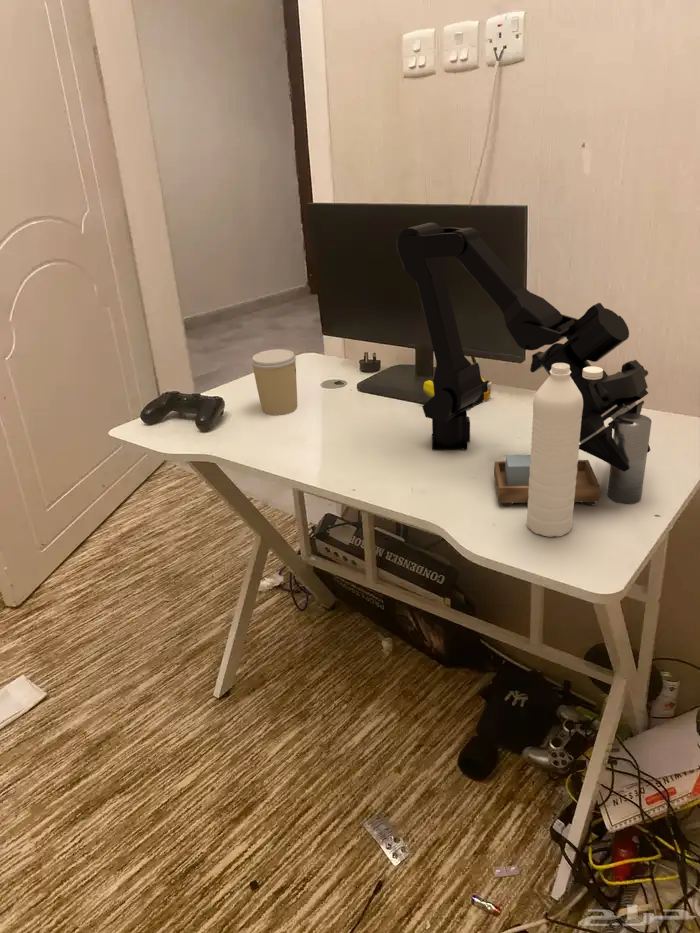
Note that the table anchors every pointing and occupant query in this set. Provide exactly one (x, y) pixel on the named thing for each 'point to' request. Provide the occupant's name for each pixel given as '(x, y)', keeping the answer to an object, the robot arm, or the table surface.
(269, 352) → the coffee cup
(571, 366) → the robot arm
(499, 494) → the walnut tray
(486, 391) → the gaming controller
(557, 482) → the water bottle
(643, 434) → the metal cylinder
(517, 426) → the table surface
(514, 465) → the pale grey cube
